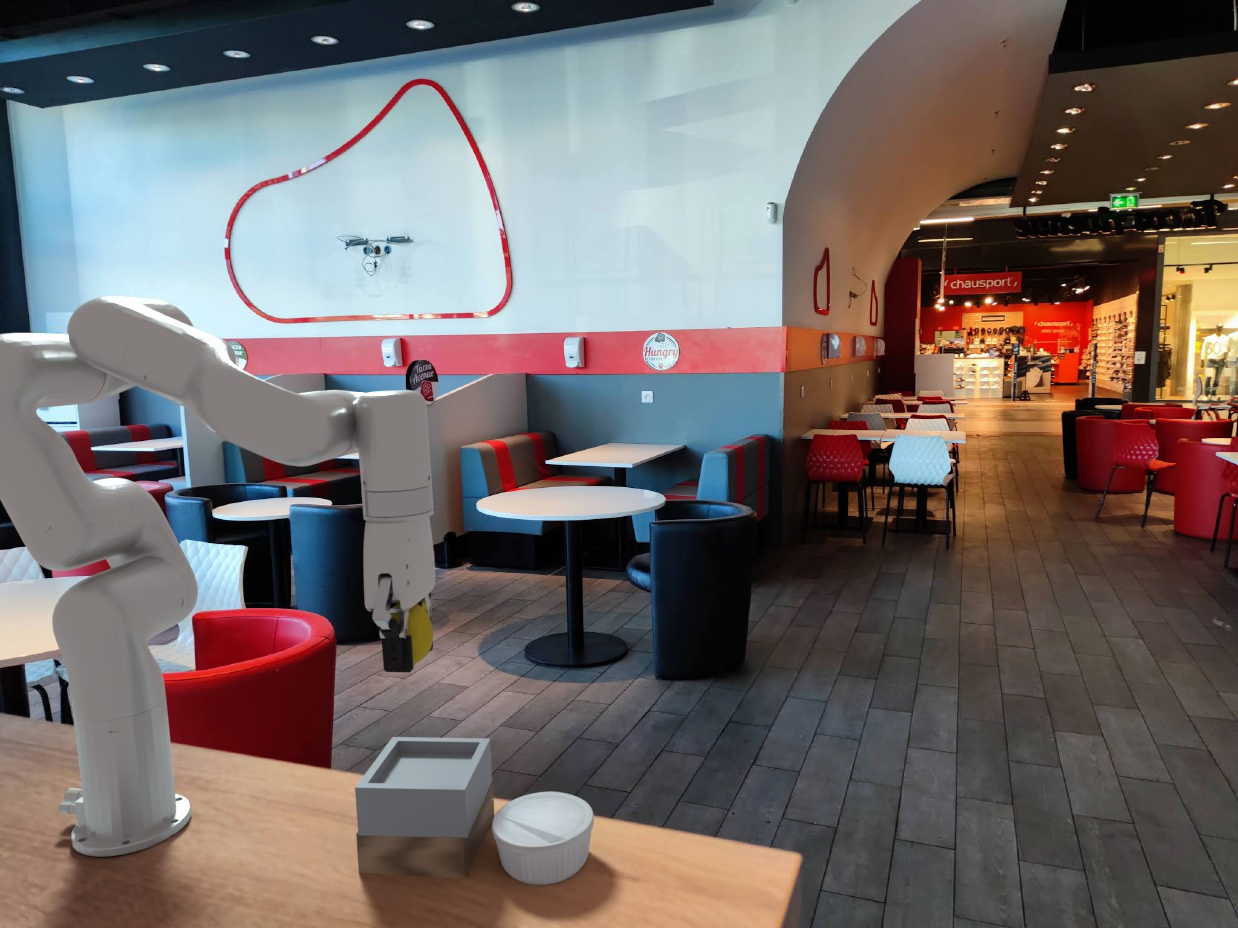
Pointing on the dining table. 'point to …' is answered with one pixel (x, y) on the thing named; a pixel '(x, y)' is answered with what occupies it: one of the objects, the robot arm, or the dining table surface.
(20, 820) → the dining table surface
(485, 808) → the tower bottom block
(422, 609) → the lemon
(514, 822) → the ramekin
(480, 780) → the tower top block
